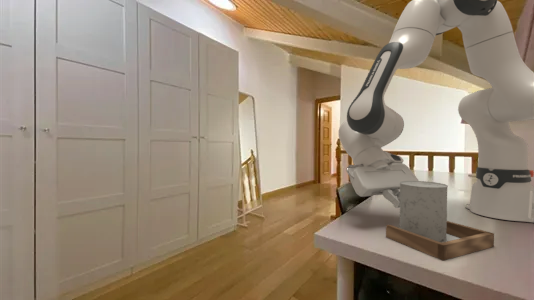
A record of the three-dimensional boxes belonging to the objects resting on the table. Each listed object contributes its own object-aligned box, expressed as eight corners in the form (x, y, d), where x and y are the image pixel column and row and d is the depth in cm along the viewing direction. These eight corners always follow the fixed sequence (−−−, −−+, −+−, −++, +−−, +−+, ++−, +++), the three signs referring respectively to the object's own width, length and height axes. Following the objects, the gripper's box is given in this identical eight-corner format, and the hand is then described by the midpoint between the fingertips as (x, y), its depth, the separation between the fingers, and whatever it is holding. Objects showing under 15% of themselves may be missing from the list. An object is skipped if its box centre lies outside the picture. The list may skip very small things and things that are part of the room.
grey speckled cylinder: (455, 245, 55) (457, 187, 55) (407, 242, 57) (408, 186, 56) (434, 230, 65) (435, 181, 64) (393, 228, 66) (394, 180, 66)
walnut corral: (433, 227, 67) (433, 217, 66) (493, 246, 55) (494, 233, 55) (385, 237, 60) (386, 225, 60) (443, 260, 48) (443, 245, 48)
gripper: (349, 157, 68) (378, 203, 59) (405, 156, 76) (437, 196, 67) (338, 172, 72) (363, 217, 63) (392, 170, 80) (420, 209, 71)
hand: (402, 206), depth 65 cm, fingers closed, pressing on grey speckled cylinder
